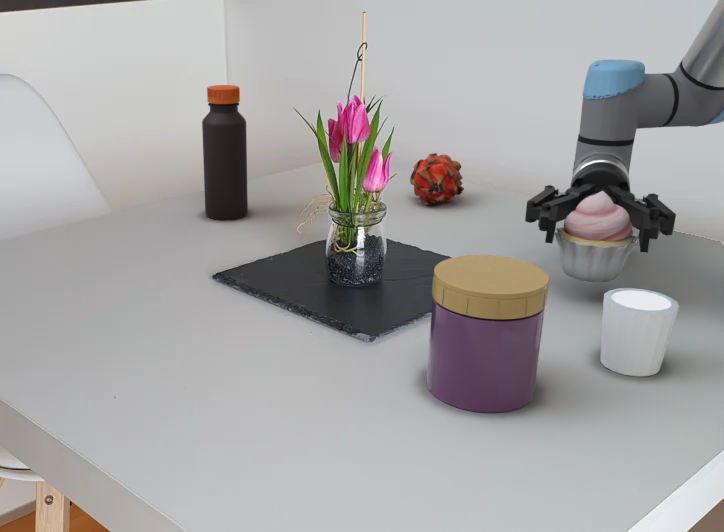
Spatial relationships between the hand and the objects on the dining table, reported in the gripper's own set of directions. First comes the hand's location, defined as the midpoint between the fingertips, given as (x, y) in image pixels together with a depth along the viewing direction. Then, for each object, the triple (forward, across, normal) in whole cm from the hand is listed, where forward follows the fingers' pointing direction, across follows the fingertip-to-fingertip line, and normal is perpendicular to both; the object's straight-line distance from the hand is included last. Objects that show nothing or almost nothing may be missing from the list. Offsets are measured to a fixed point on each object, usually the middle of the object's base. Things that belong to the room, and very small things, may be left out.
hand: (597, 236), depth 93 cm
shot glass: (+12, -4, -10) cm, 16 cm away
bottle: (-23, +55, -9) cm, 60 cm away
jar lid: (+23, +9, +2) cm, 24 cm away
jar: (+22, +9, -9) cm, 26 cm away
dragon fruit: (-42, +25, -9) cm, 49 cm away
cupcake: (-4, 0, -6) cm, 8 cm away
